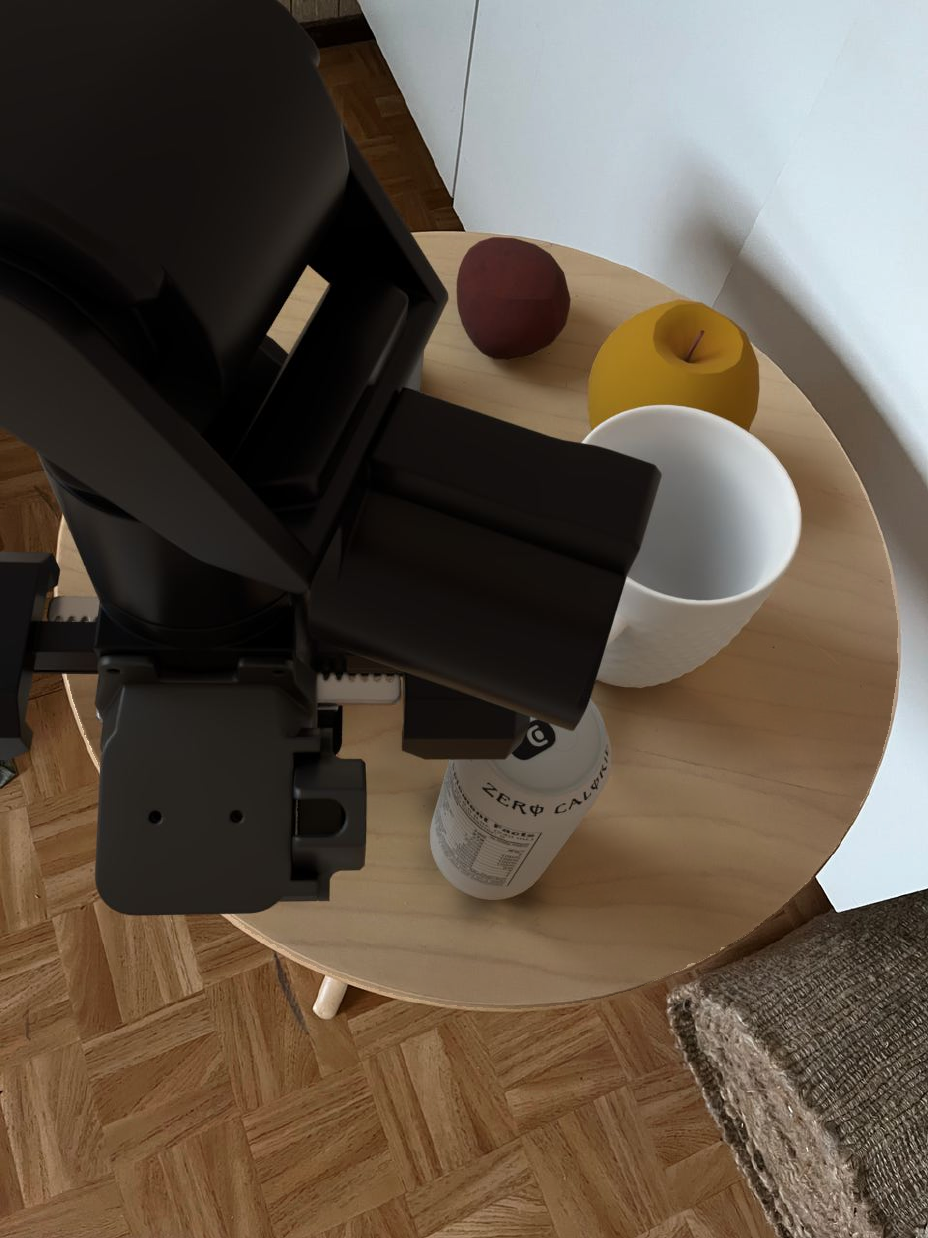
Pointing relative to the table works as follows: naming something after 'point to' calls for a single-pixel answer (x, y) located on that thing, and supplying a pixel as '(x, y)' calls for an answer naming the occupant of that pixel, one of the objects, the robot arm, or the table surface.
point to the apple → (676, 365)
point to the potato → (511, 297)
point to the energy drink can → (518, 807)
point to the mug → (696, 541)
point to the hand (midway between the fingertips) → (246, 749)
